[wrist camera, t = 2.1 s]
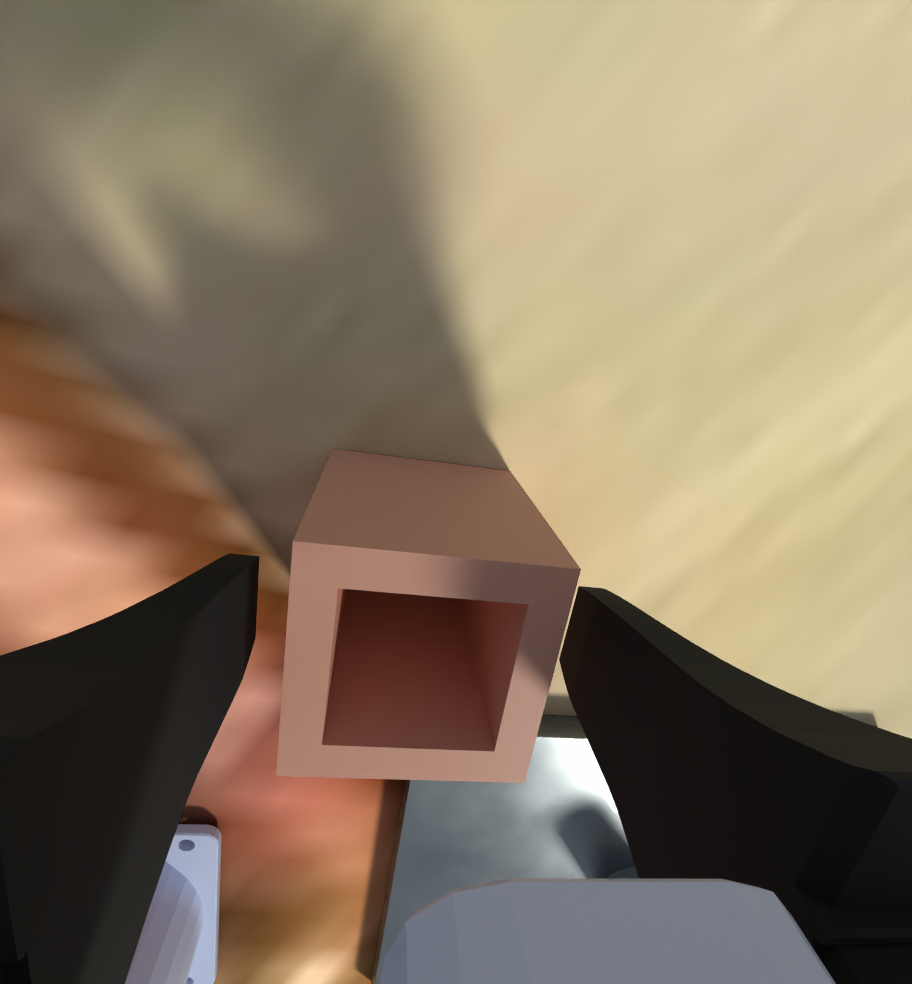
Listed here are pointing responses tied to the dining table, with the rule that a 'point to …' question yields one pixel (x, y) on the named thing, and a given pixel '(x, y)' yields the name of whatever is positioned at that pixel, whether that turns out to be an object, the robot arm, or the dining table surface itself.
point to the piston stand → (505, 830)
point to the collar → (420, 623)
